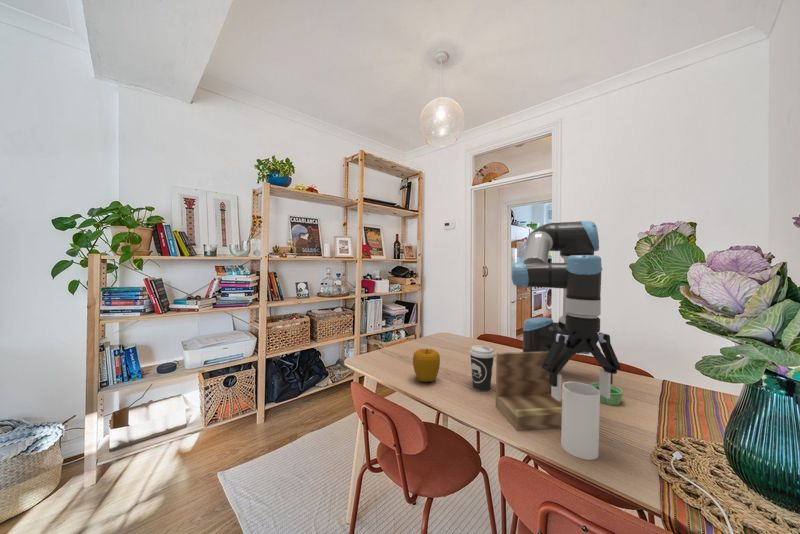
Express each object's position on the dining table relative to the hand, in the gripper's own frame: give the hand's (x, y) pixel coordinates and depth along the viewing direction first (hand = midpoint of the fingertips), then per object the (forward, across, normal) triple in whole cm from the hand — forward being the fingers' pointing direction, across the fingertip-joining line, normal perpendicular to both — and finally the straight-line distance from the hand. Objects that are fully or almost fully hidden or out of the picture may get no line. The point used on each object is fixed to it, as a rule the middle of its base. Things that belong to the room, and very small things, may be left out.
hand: (580, 397), depth 73 cm
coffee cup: (+14, +11, -37) cm, 41 cm away
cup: (+14, 0, 0) cm, 14 cm away
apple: (+14, +31, -45) cm, 56 cm away
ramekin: (+14, -29, -23) cm, 40 cm away
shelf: (+13, +2, -16) cm, 21 cm away
